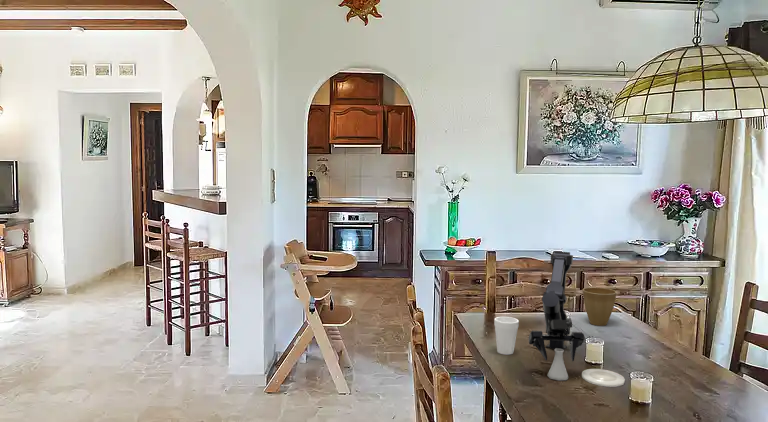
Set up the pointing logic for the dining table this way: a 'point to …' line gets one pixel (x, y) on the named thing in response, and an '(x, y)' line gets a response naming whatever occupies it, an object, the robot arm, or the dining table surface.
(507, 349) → the foam cup
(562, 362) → the flask
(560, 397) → the dining table surface
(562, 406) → the dining table surface
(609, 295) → the plant pot
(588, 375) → the ceramic plate
